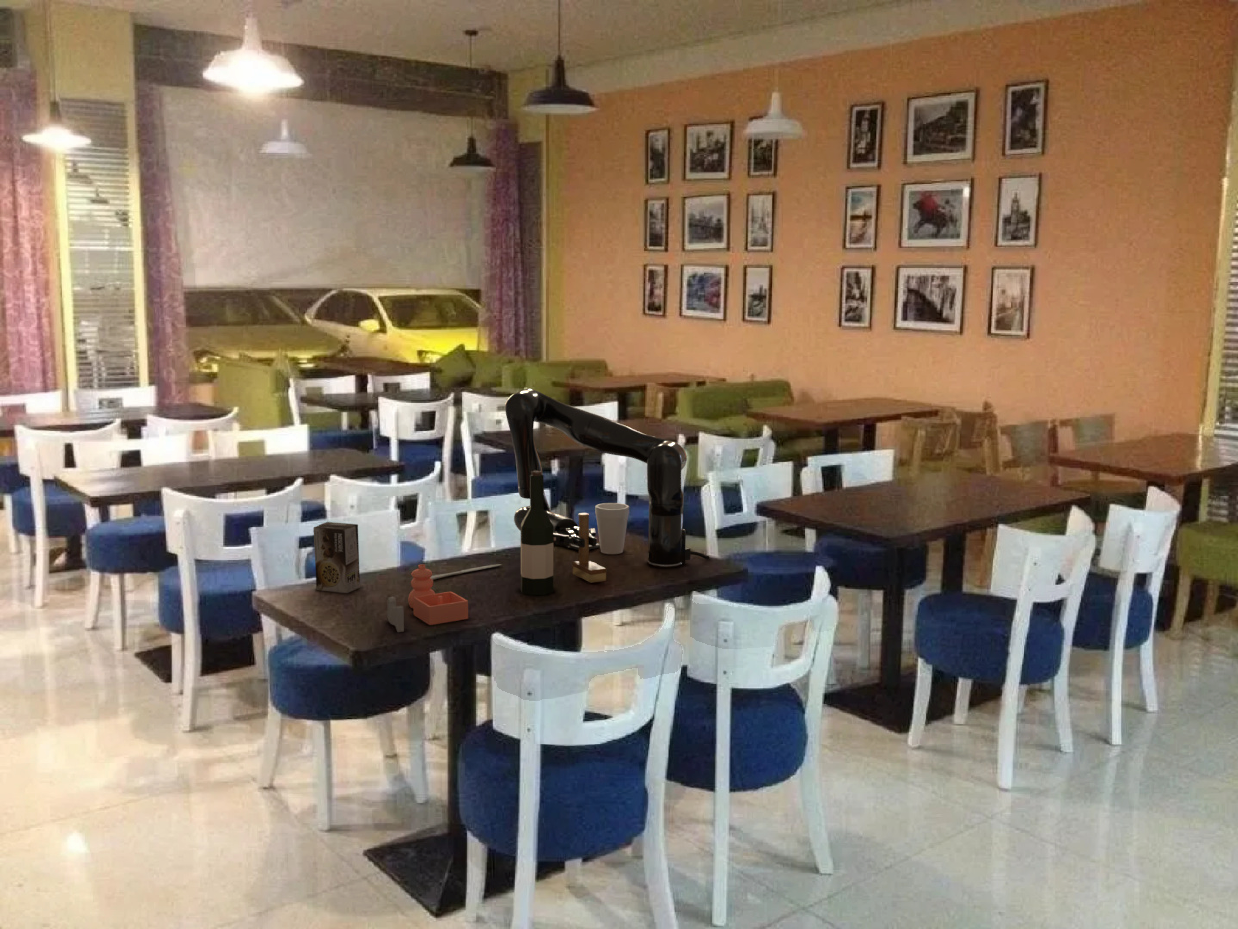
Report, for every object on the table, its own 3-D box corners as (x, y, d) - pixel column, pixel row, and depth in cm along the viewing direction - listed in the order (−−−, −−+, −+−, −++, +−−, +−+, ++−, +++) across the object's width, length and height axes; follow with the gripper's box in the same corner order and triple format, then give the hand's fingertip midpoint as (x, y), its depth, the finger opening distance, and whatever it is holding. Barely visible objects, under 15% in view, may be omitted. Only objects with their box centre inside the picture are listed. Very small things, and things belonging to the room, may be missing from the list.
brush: (572, 573, 300) (572, 513, 298) (587, 571, 302) (587, 511, 300) (590, 582, 292) (590, 520, 289) (606, 580, 294) (606, 518, 291)
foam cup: (594, 547, 332) (594, 503, 329) (626, 547, 333) (626, 502, 330) (597, 555, 322) (597, 510, 320) (630, 555, 323) (630, 509, 321)
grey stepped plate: (397, 632, 253) (386, 619, 262) (404, 631, 254) (392, 618, 263) (397, 607, 252) (386, 595, 261) (403, 606, 253) (392, 594, 262)
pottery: (468, 618, 264) (467, 576, 262) (429, 625, 259) (428, 582, 257) (435, 599, 279) (435, 559, 277) (398, 605, 274) (397, 564, 272)
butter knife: (420, 577, 296) (426, 579, 294) (498, 562, 311) (504, 565, 309) (420, 578, 296) (426, 581, 294) (498, 564, 311) (504, 566, 309)
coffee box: (361, 587, 288) (359, 523, 286) (346, 594, 282) (345, 529, 280) (329, 583, 291) (327, 521, 289) (314, 590, 285) (312, 526, 283)
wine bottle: (548, 596, 282) (548, 475, 277) (516, 594, 284) (515, 473, 279) (557, 587, 290) (557, 469, 285) (525, 585, 292) (525, 468, 287)
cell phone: (568, 538, 342) (568, 535, 342) (602, 547, 331) (602, 544, 331) (548, 542, 337) (548, 539, 337) (581, 551, 326) (581, 548, 326)
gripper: (535, 518, 306) (564, 531, 292) (582, 513, 313) (613, 525, 298) (535, 546, 308) (564, 560, 293) (582, 540, 314) (613, 554, 299)
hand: (589, 542), depth 296 cm, fingers closed on brush, 2 cm apart
